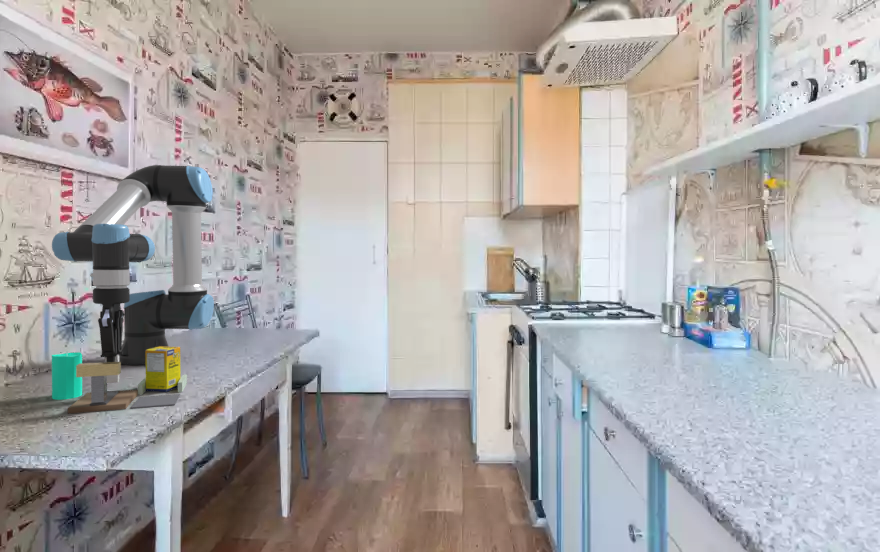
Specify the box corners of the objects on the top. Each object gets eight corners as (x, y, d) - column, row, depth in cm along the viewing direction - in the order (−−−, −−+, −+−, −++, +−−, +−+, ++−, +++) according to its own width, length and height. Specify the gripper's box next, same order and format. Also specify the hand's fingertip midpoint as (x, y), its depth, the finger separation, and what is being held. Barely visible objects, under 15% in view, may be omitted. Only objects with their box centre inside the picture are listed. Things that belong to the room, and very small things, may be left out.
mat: (139, 397, 121) (139, 396, 121) (180, 395, 124) (180, 393, 124) (130, 408, 112) (130, 407, 112) (174, 405, 115) (174, 403, 115)
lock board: (87, 397, 120) (87, 391, 120) (138, 394, 124) (138, 387, 124) (67, 413, 108) (67, 406, 108) (125, 409, 112) (125, 402, 112)
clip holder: (145, 386, 132) (145, 376, 132) (186, 383, 135) (186, 374, 135) (137, 395, 123) (137, 385, 123) (182, 391, 127) (182, 382, 127)
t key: (80, 401, 111) (79, 363, 111) (121, 398, 114) (120, 361, 114) (76, 404, 109) (76, 365, 109) (118, 401, 112) (118, 363, 111)
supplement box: (181, 386, 132) (181, 346, 132) (166, 392, 126) (166, 350, 126) (160, 385, 132) (160, 345, 132) (145, 391, 127) (144, 349, 126)
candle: (50, 401, 117) (50, 351, 117) (53, 395, 122) (52, 347, 122) (81, 397, 120) (81, 349, 120) (83, 391, 125) (82, 345, 125)
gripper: (101, 285, 125) (102, 376, 126) (84, 288, 112) (85, 390, 113) (135, 285, 127) (135, 374, 128) (122, 288, 115) (123, 387, 116)
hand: (112, 381), depth 121 cm, fingers closed
